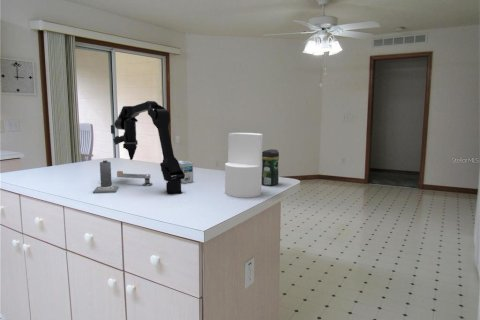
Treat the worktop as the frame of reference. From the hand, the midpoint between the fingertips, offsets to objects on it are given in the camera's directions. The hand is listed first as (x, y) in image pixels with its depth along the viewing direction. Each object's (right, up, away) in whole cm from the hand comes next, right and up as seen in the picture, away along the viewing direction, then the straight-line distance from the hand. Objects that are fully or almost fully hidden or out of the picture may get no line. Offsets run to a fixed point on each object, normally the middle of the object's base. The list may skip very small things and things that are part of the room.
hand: (131, 159), depth 183 cm
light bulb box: (+27, -12, +5) cm, 29 cm away
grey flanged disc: (+10, -13, -5) cm, 17 cm away
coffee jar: (+73, -13, 0) cm, 75 cm away
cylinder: (+59, -16, -19) cm, 64 cm away
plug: (-6, -14, -18) cm, 23 cm away
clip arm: (+3, -9, -5) cm, 11 cm away
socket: (-7, -15, -17) cm, 24 cm away
